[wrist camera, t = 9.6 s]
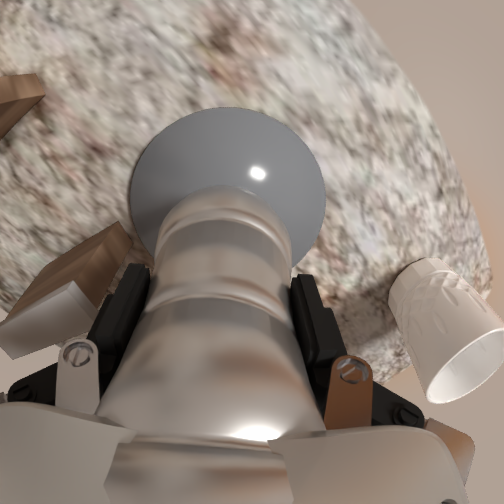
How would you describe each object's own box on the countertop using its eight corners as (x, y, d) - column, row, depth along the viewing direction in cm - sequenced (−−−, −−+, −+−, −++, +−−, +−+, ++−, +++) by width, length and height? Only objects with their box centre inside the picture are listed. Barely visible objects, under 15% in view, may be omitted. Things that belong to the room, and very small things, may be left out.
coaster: (99, 167, 19) (96, 169, 18) (278, 73, 16) (279, 73, 16) (192, 306, 25) (191, 311, 24) (346, 245, 22) (348, 249, 22)
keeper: (-31, 144, 16) (-104, 182, 9) (39, 66, 14) (-51, 75, 7) (57, 287, 24) (12, 359, 16) (140, 243, 22) (98, 327, 14)
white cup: (364, 306, 26) (405, 399, 17) (421, 235, 22) (492, 315, 14) (416, 329, 28) (456, 406, 19) (466, 271, 24) (524, 341, 16)
